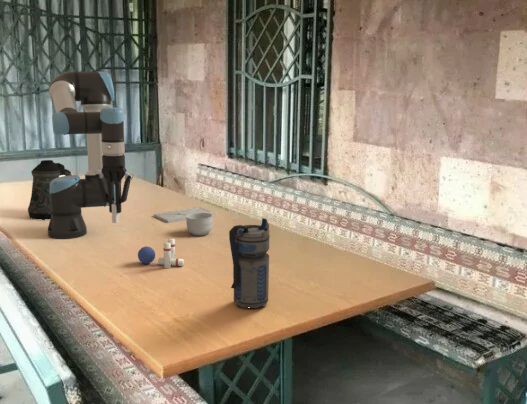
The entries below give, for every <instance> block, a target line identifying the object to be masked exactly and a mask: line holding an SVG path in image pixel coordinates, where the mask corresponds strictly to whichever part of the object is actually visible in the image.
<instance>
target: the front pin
mask: <svg viewBox="0 0 527 404" xmlns="http://www.w3.org/2000/svg"><path fill="white" fill-rule="evenodd" d="M157 264H158V265H159V266H164V257H159V258H158V261H157ZM184 265H185V260H184V258H175V259H172V258H171V266H176V267H184Z"/></svg>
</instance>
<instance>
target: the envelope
mask: <svg viewBox="0 0 527 404" xmlns="http://www.w3.org/2000/svg"><path fill="white" fill-rule="evenodd" d="M199 212H203V213H210V214H212V217H215V215H216V214H215V212H214V211H211V210H209V209H206V208H205V207H201V206H196V207H190V208H185V209H184V208H183V209H179V210H178V209H177V210H171V211H165V212H157V213H154V214H153V217H154V218H156V219H159V220H160V221H162V222H164V223H167V224H171V223H177V222H184V221H186V216H187V215H189V214H192V213H199Z"/></svg>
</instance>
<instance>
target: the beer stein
mask: <svg viewBox="0 0 527 404" xmlns="http://www.w3.org/2000/svg"><path fill="white" fill-rule="evenodd" d="M69 175H72V172H71V170H69V169H67V168H65V164H64V165H63V164H62V163H60V162H54V161H53V160H51V159H46V160H43V159H42V160H40V162H39V163H38V164H37V165H36V166H35V167H34V168H33V169H32V170H31V176H32V185H31V195H30V201H29V203H28V204H29V205H28V208H27V213H28V216H29V219H31V218H32V220H34V219H42V220H41V221H46V220H45V219H51V200H50V193H49V191H50V182H51V181H52V180H53V179H56V178H58V177H62V176H69Z"/></svg>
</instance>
